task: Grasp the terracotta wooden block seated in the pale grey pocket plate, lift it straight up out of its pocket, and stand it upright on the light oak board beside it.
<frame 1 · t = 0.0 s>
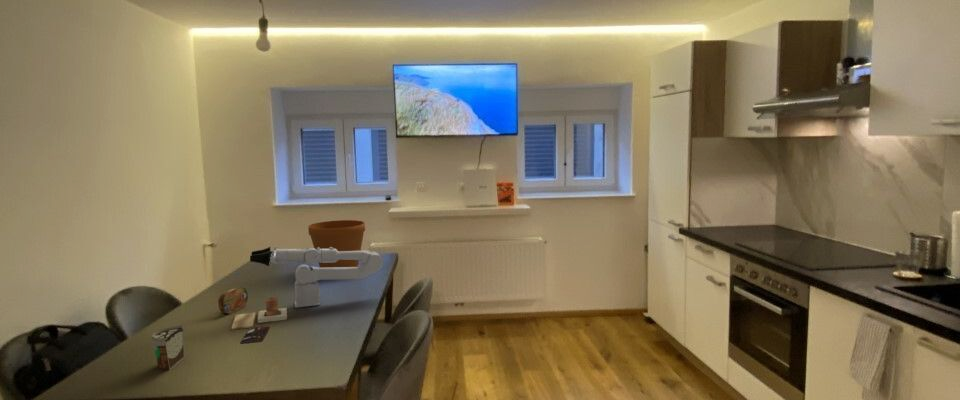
hand: (250, 256, 210), 22 cm above the table, tool horizontal, fingers open, 7 cm apart
oak board: (244, 321, 199), on the table
pocket plate: (273, 317, 204), on the table
smartphone: (255, 336, 185), on the table
tin: (234, 310, 214), on the table
block: (272, 308, 203), in the pocket plate
food container: (166, 364, 162), on the table
flowerpot: (339, 269, 277), on the table
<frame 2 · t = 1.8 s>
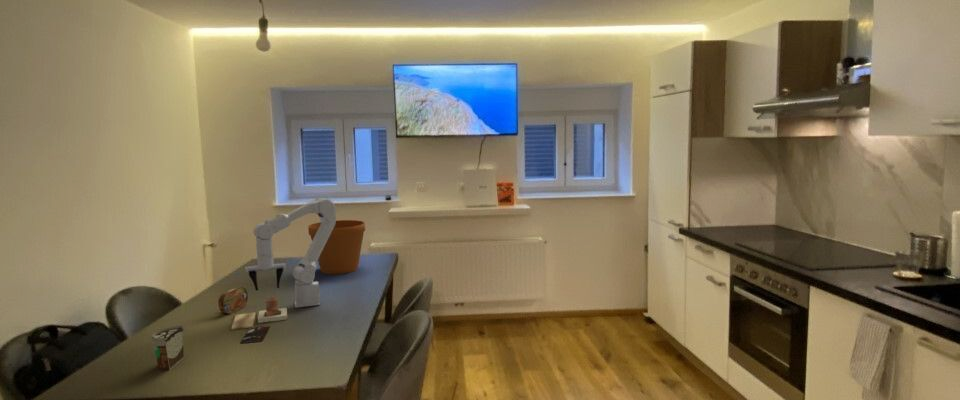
hand: (267, 288, 209), 9 cm above the table, tool pointing down, fingers open, 7 cm apart
nothing on the table moved.
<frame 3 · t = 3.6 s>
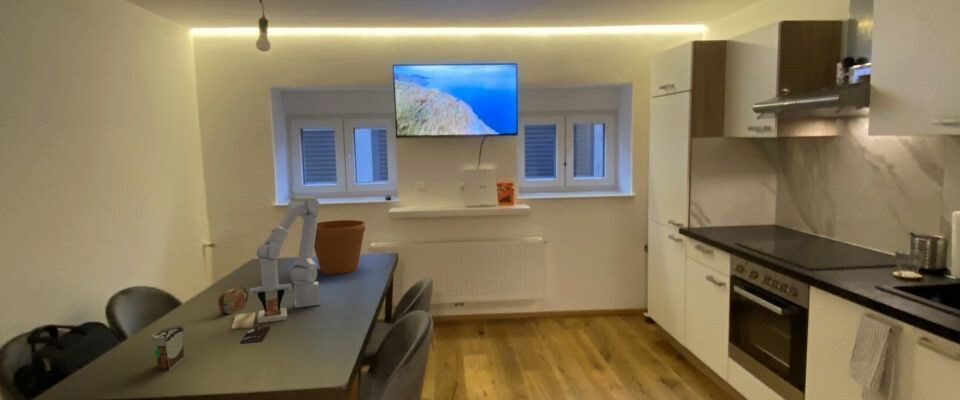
hand: (272, 310, 203), 3 cm above the table, tool pointing down, fingers closed on block, 4 cm apart
block: (272, 308, 203), in the pocket plate, touching gripper
everything else where it was.
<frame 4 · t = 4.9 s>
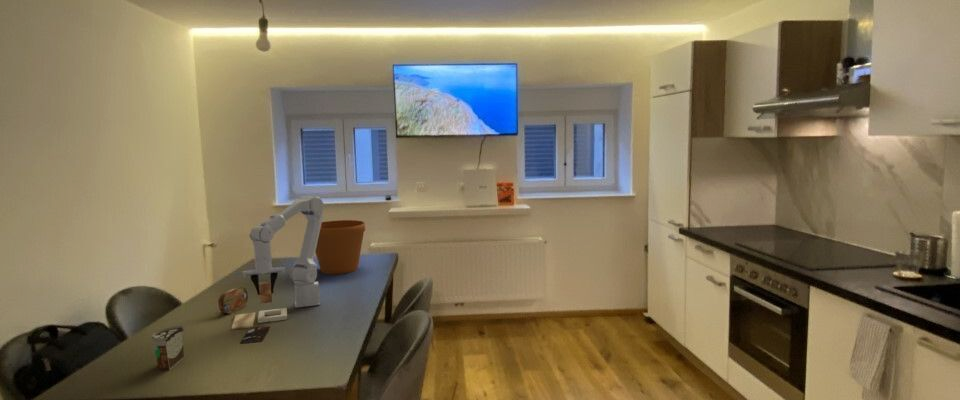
hand: (265, 293, 202), 9 cm above the table, tool pointing down, fingers closed on block, 4 cm apart
block: (265, 292, 201), point 10 cm above the table, touching gripper
everything else where it was.
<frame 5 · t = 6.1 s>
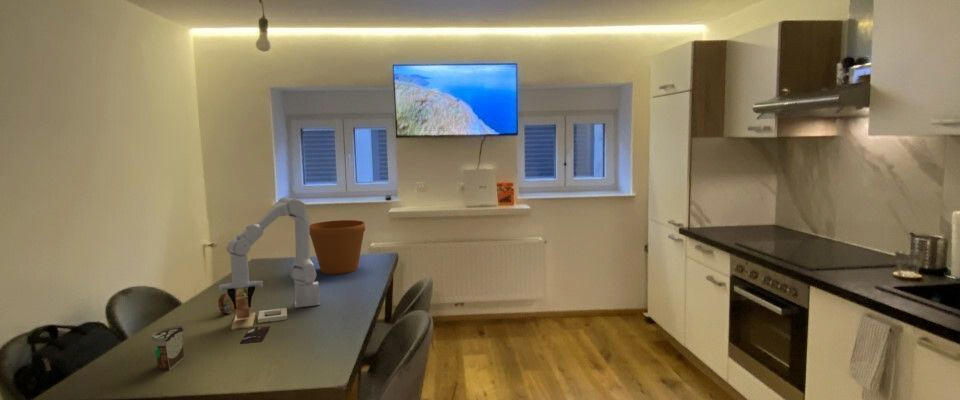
hand: (242, 307, 199), 5 cm above the table, tool pointing down, fingers closed on block, 4 cm apart
block: (242, 307, 199), point 6 cm above the table, touching gripper
everything else where it was.
when the fingers open (4 cm above the table, at t = 6.7 s): block stays where it is, resting on oak board.
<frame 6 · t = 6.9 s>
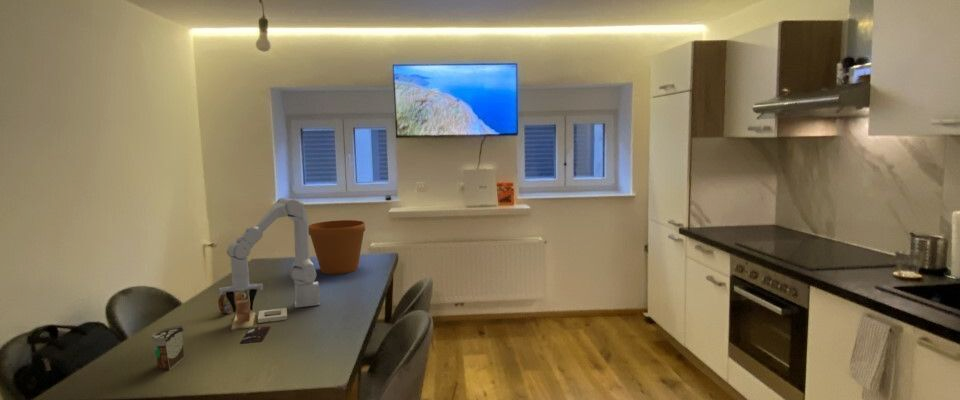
hand: (243, 310, 199), 4 cm above the table, tool pointing down, fingers open, 5 cm apart
block: (243, 310, 199), on the oak board, point 4 cm above the table
everything else where it was.
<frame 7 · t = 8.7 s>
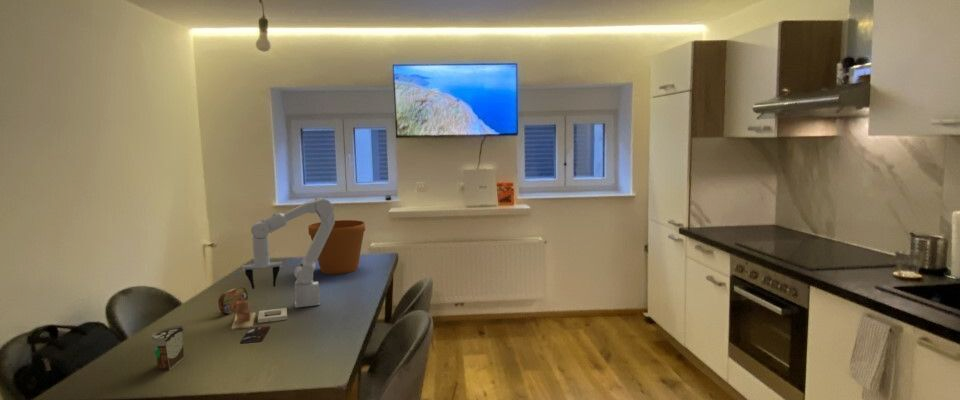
hand: (263, 287, 211), 9 cm above the table, tool pointing down, fingers open, 7 cm apart
nothing on the table moved.
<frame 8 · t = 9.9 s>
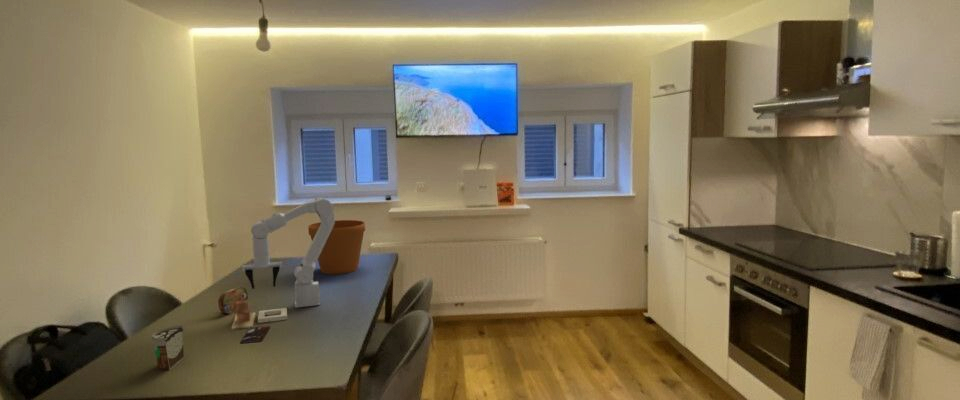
hand: (263, 287, 211), 9 cm above the table, tool pointing down, fingers open, 7 cm apart
nothing on the table moved.
at the end: block inside the target area on the oak board (0.1 cm from its centre), point 4.1 cm above the oak board's base; block tilted 0°; the gripper is holding nothing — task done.
